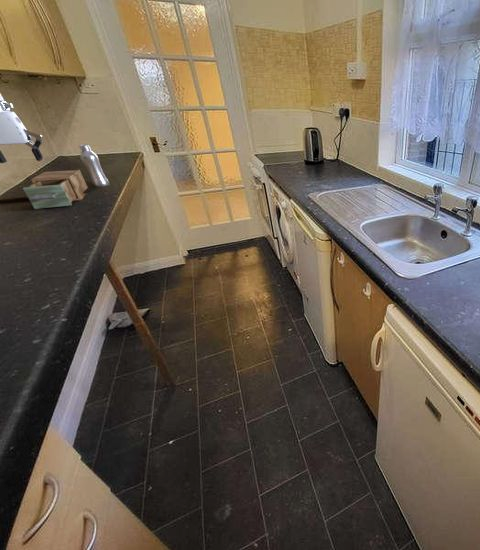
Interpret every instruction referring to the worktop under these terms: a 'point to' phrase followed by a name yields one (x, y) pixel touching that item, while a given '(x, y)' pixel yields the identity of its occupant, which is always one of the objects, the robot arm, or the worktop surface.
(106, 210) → the worktop surface
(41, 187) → the drawer
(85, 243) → the worktop surface
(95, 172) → the silver metal bottle
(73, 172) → the cabinet
